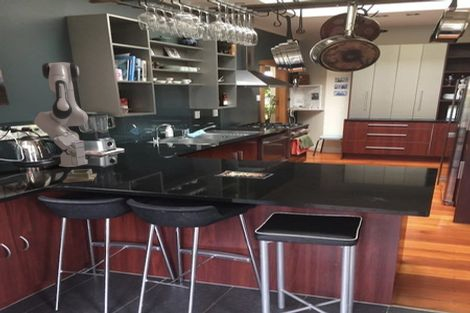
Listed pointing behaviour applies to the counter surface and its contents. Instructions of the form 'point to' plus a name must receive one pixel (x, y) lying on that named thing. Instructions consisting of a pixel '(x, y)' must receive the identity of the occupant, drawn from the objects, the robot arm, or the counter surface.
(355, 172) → the counter surface
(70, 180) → the cradle jig
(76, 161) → the syrup box
